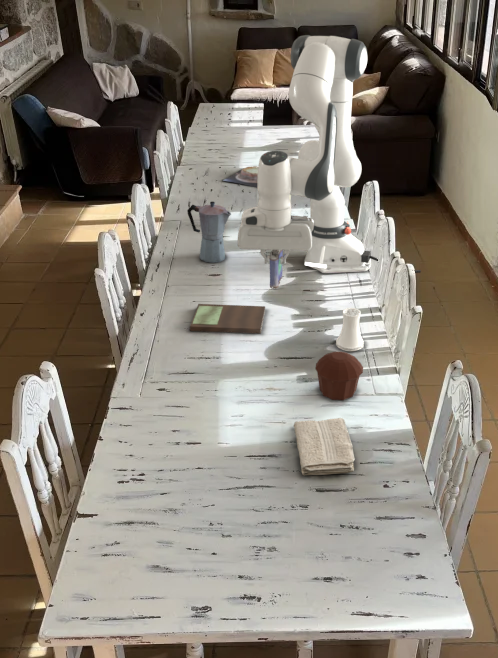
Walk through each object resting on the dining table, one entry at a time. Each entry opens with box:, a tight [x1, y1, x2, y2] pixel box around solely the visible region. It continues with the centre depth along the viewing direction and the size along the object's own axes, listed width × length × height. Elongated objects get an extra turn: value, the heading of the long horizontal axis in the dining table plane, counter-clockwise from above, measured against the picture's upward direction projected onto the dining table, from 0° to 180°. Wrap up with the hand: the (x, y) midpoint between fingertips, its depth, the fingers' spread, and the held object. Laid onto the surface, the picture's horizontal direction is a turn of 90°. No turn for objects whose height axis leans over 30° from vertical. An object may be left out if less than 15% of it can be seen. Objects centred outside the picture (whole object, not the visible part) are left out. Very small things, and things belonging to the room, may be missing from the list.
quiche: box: [222, 165, 258, 188], centre depth 321 cm, size 21×20×4 cm
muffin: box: [315, 350, 364, 401], centre depth 178 cm, size 12×11×10 cm
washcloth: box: [293, 417, 356, 476], centre depth 160 cm, size 12×18×3 cm, turn 7°
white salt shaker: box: [335, 307, 365, 352], centre depth 197 cm, size 8×8×10 cm
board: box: [189, 303, 266, 335], centre depth 210 cm, size 20×14×2 cm
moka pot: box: [186, 201, 232, 264], centre depth 243 cm, size 10×15×20 cm, turn 78°
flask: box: [269, 250, 284, 290], centre depth 201 cm, size 9×3×11 cm, turn 170°
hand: (275, 263), depth 200 cm, fingers closed on flask, 3 cm apart
